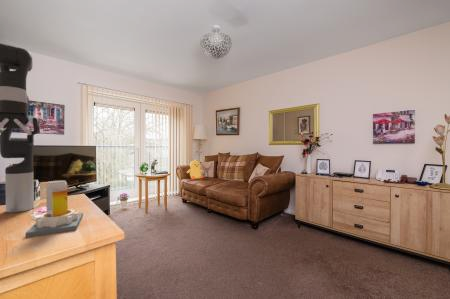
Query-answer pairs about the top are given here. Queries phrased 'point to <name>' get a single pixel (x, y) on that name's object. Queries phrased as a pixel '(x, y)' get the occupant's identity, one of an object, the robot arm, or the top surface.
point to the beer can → (56, 198)
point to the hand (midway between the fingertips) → (14, 145)
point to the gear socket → (55, 223)
